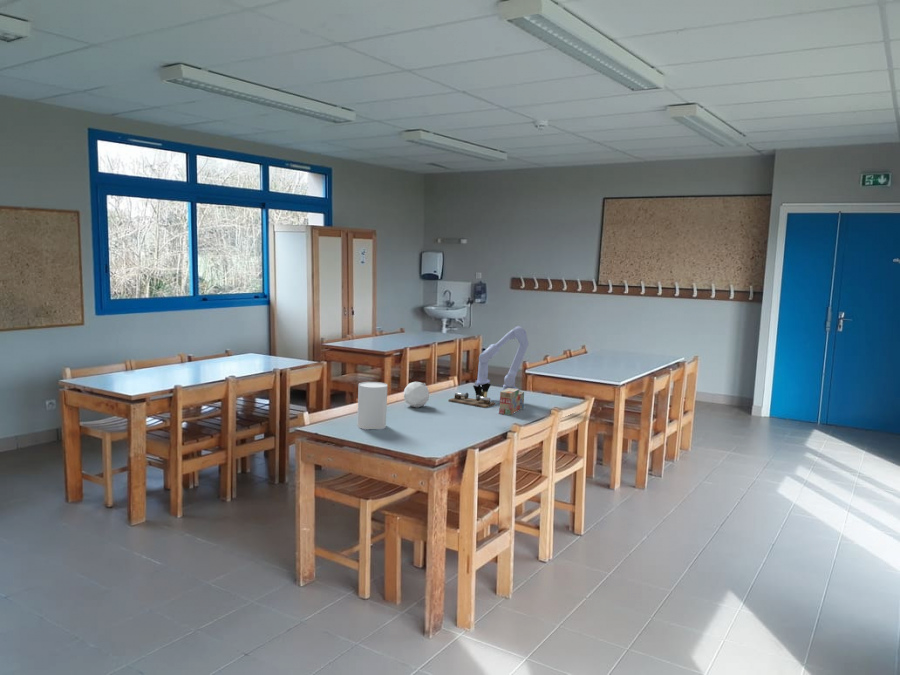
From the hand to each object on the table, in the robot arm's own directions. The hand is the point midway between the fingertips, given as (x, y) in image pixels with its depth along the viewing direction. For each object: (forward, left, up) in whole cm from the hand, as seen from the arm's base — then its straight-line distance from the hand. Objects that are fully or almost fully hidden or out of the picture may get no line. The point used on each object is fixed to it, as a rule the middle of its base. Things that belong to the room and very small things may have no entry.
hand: (481, 396), depth 388 cm
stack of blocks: (-26, +13, -2) cm, 29 cm away
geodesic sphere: (+18, +41, -2) cm, 45 cm away
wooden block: (0, 0, -2) cm, 2 cm away
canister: (+10, +90, -2) cm, 91 cm away
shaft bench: (0, +11, -2) cm, 11 cm away
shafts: (0, +11, 0) cm, 11 cm away
